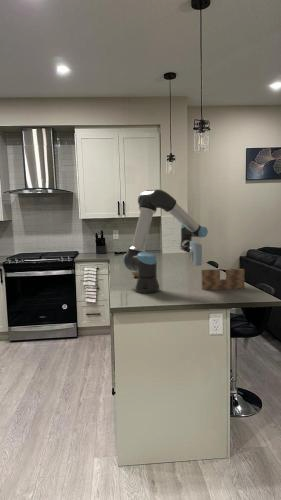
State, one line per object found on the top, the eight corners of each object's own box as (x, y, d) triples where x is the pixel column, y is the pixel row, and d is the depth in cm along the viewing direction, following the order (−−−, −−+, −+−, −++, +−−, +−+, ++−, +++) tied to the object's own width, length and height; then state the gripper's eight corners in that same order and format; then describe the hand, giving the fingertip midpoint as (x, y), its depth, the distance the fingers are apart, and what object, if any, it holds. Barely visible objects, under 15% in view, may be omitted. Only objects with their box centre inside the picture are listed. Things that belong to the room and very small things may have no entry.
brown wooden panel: (202, 289, 194) (202, 270, 192) (201, 288, 197) (201, 269, 195) (244, 288, 194) (244, 269, 192) (242, 287, 197) (243, 268, 195)
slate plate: (201, 265, 181) (201, 244, 180) (196, 265, 181) (196, 245, 180) (194, 259, 205) (194, 241, 204) (189, 259, 205) (189, 241, 204)
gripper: (199, 251, 219) (207, 256, 195) (177, 251, 218) (181, 256, 195) (199, 240, 218) (207, 244, 194) (176, 241, 217) (181, 244, 194)
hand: (194, 250), depth 195 cm, fingers closed on slate plate, 3 cm apart
